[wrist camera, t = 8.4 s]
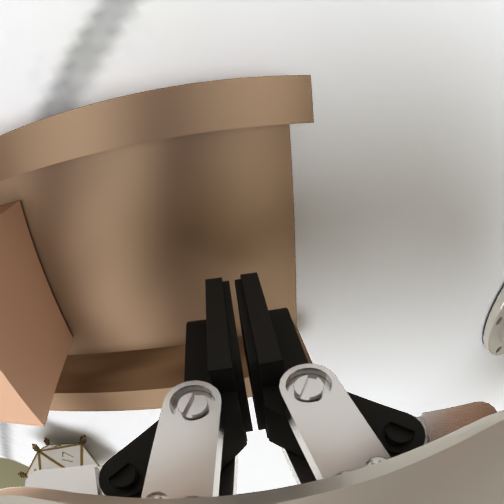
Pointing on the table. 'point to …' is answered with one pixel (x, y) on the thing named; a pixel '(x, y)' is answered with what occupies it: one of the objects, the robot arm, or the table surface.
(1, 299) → the block
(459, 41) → the table surface
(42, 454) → the game die
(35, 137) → the chute
